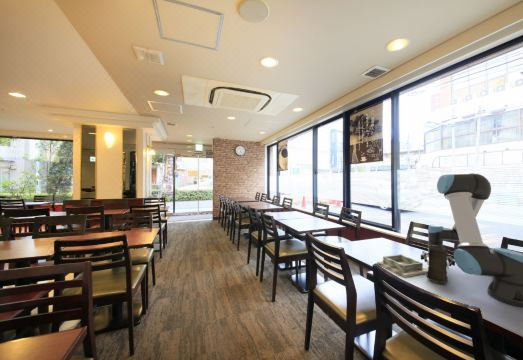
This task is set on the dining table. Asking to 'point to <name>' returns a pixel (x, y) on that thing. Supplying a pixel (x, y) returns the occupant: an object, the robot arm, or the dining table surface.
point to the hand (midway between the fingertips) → (437, 264)
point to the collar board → (403, 265)
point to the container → (437, 264)
